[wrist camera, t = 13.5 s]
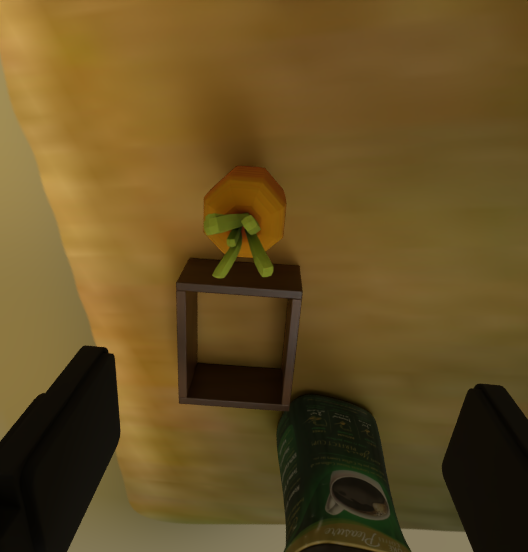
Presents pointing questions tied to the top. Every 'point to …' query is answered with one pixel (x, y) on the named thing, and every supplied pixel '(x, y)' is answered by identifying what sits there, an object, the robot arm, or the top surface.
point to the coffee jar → (335, 480)
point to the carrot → (245, 217)
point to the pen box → (224, 378)
